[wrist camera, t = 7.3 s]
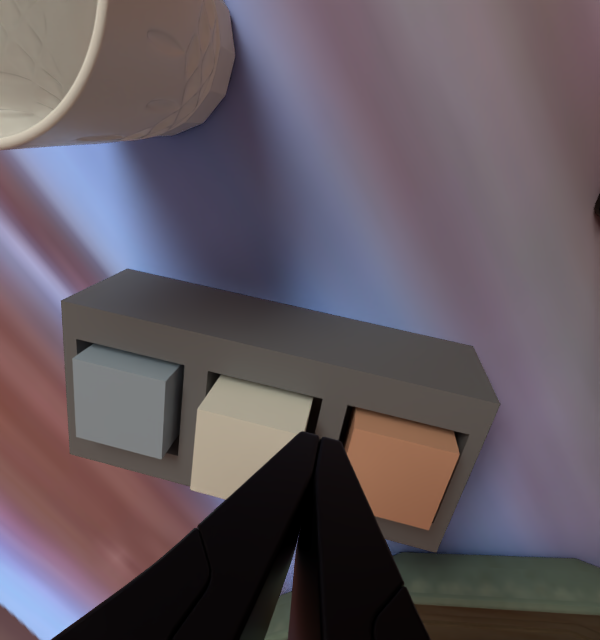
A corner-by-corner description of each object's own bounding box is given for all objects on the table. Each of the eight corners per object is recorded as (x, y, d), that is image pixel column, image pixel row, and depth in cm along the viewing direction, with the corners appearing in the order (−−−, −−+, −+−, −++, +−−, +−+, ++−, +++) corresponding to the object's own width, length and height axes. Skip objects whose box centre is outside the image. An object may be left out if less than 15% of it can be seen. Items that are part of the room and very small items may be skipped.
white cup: (123, 173, 20) (-90, 195, 11) (39, -18, 18) (-323, -193, 9) (276, 111, 18) (171, 74, 9) (205, -115, 16) (-41, -486, 6)
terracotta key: (447, 409, 19) (459, 454, 16) (421, 478, 20) (428, 530, 17) (357, 387, 19) (354, 428, 16) (339, 457, 21) (333, 504, 18)
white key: (314, 391, 18) (303, 435, 15) (298, 464, 20) (285, 515, 17) (224, 370, 18) (197, 409, 16) (215, 442, 20) (190, 490, 17)
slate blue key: (195, 348, 20) (165, 381, 17) (189, 419, 21) (161, 459, 18) (114, 329, 20) (72, 358, 17) (114, 400, 22) (76, 436, 19)
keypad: (472, 346, 20) (500, 404, 16) (424, 473, 24) (436, 552, 19) (127, 268, 22) (60, 300, 17) (126, 398, 25) (69, 453, 20)
